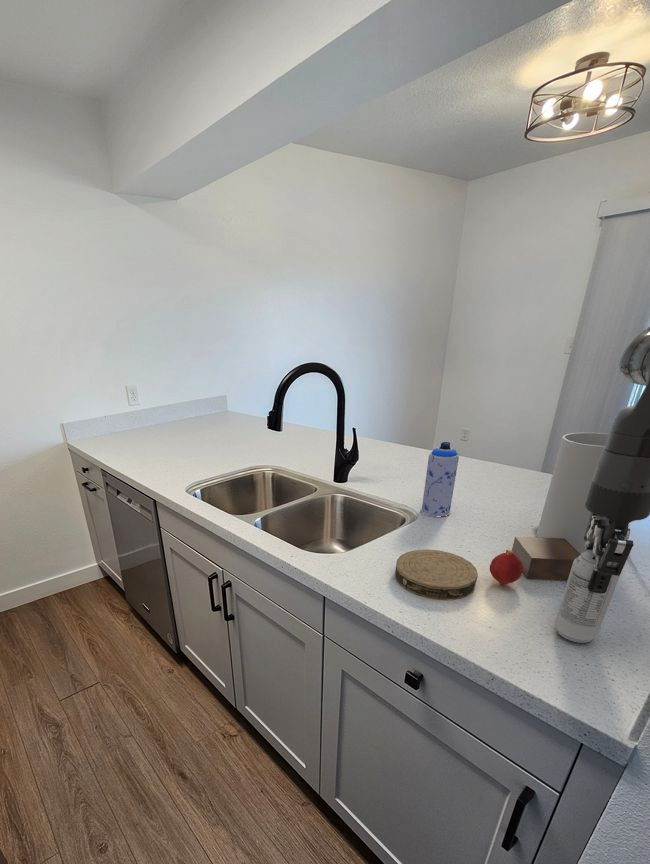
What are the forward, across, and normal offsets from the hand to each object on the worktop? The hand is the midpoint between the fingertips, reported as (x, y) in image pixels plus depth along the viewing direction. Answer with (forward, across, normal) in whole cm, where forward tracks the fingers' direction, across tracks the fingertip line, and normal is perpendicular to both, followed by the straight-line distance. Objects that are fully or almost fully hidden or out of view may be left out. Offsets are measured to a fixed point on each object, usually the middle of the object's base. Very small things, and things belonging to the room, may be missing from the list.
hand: (591, 580), depth 70 cm
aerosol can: (+11, +49, +26) cm, 57 cm away
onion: (+11, +14, +10) cm, 21 cm away
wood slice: (+11, +11, +23) cm, 28 cm away
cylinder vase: (+11, +39, -4) cm, 41 cm away
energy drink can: (+11, 0, 0) cm, 11 cm away
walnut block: (+11, +24, +2) cm, 26 cm away
